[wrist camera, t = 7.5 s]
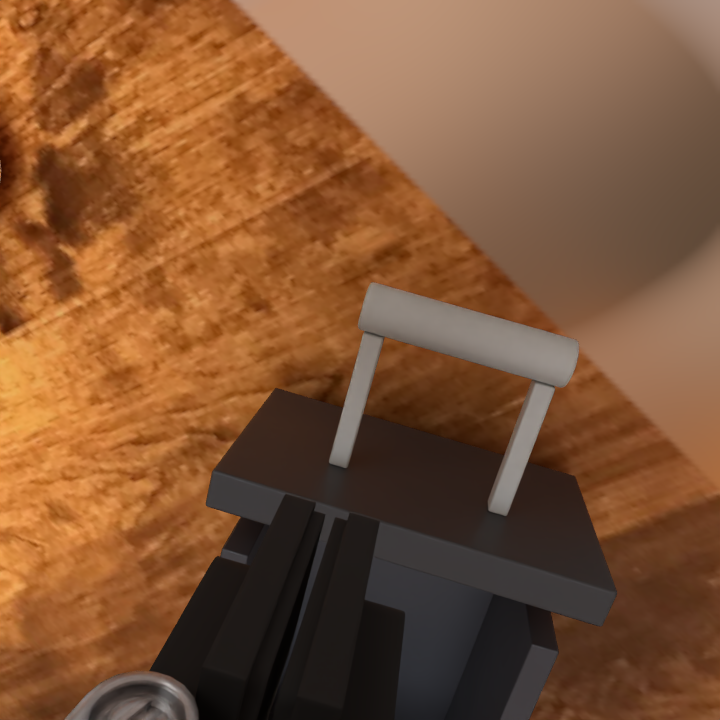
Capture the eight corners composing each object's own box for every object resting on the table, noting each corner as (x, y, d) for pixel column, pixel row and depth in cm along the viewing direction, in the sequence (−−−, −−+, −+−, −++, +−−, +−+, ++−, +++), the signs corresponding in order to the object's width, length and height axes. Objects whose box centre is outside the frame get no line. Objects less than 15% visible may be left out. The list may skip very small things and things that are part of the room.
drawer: (309, 237, 23) (252, 271, 17) (636, 329, 22) (708, 401, 16) (206, 683, 29) (136, 832, 23) (457, 763, 29) (457, 939, 22)
